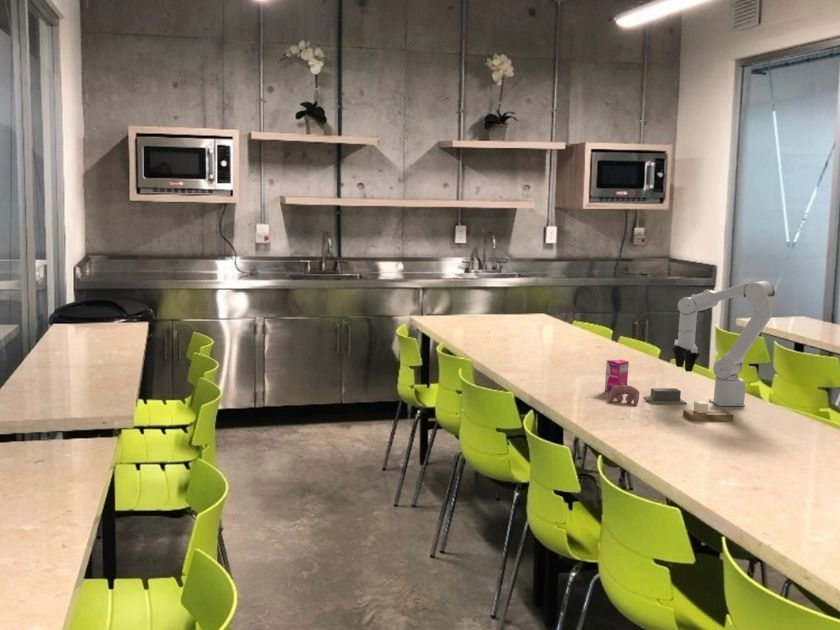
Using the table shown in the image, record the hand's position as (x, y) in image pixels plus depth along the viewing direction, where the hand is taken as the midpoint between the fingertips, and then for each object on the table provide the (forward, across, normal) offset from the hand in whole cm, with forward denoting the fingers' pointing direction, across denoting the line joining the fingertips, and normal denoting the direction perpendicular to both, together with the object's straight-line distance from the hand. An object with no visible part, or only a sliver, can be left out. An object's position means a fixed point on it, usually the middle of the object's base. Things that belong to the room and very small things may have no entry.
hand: (684, 369), depth 298 cm
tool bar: (+9, +9, -10) cm, 16 cm away
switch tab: (+7, +31, -8) cm, 33 cm away
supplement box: (+10, -4, -23) cm, 25 cm away
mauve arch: (+10, +11, -26) cm, 29 cm away
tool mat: (+9, +9, -10) cm, 16 cm away
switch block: (+9, +31, -5) cm, 33 cm away
